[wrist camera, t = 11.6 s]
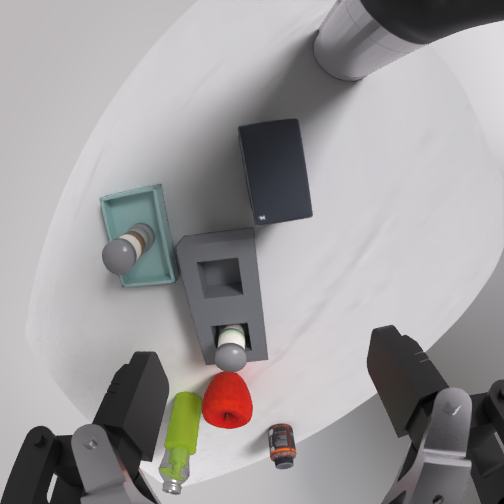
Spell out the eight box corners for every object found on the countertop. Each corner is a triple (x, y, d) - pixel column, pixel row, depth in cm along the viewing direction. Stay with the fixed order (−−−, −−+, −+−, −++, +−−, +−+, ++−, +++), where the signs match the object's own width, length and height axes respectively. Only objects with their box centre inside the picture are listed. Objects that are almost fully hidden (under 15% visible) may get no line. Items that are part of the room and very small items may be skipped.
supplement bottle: (263, 428, 55) (265, 466, 44) (284, 420, 54) (289, 459, 43) (275, 436, 57) (279, 472, 46) (296, 429, 56) (302, 465, 45)
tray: (107, 195, 36) (99, 198, 33) (161, 183, 36) (155, 185, 33) (128, 280, 41) (122, 287, 38) (179, 275, 40) (175, 282, 38)
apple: (217, 396, 50) (213, 437, 40) (198, 369, 47) (190, 412, 37) (257, 387, 49) (260, 430, 39) (242, 358, 46) (241, 403, 36)
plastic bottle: (197, 430, 55) (189, 498, 36) (171, 427, 55) (158, 493, 36) (195, 417, 53) (185, 490, 34) (167, 414, 53) (151, 484, 34)
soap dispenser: (191, 386, 49) (177, 470, 30) (206, 405, 51) (198, 484, 33) (167, 390, 50) (148, 469, 31) (183, 409, 52) (170, 484, 33)
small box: (297, 202, 37) (316, 219, 27) (251, 209, 37) (253, 229, 28) (285, 127, 34) (301, 116, 24) (237, 134, 34) (234, 126, 24)
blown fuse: (126, 224, 37) (98, 244, 29) (151, 220, 37) (127, 239, 28) (132, 251, 38) (107, 276, 30) (157, 248, 38) (136, 273, 30)
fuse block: (184, 236, 38) (165, 262, 29) (253, 227, 38) (255, 251, 29) (209, 345, 45) (202, 386, 36) (266, 340, 45) (270, 382, 36)
